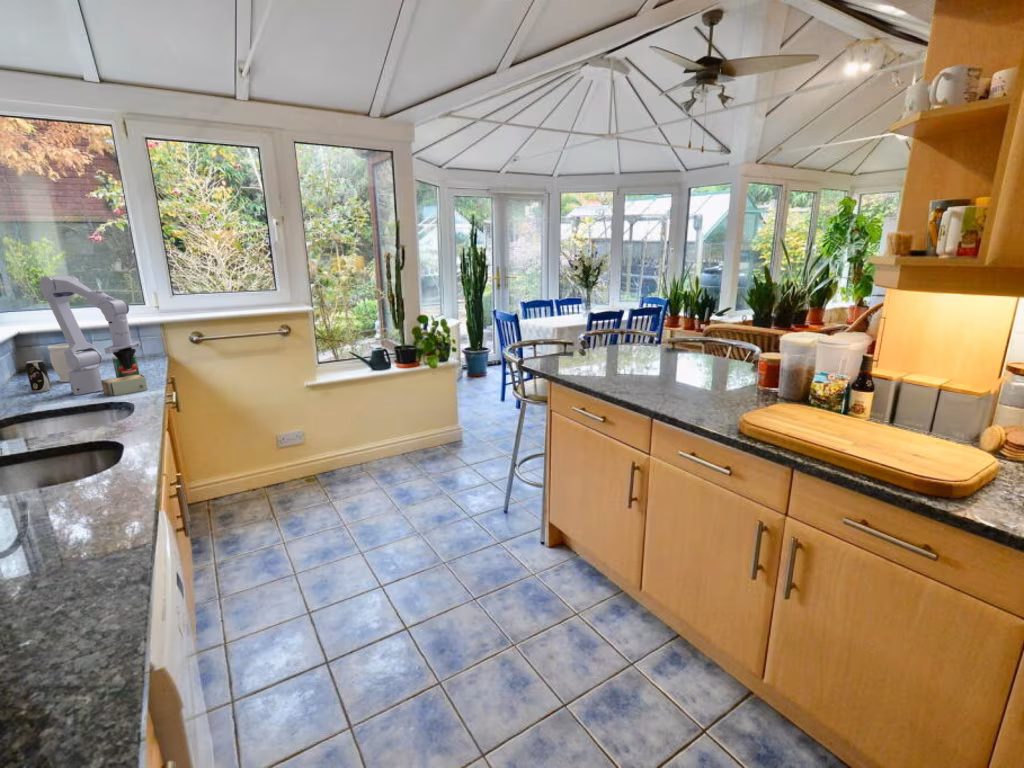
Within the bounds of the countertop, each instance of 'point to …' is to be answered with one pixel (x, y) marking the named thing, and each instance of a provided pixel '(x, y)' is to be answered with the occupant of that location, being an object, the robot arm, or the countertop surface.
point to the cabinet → (104, 382)
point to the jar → (60, 361)
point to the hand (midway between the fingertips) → (127, 368)
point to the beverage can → (38, 376)
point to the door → (127, 386)
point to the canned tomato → (125, 372)
